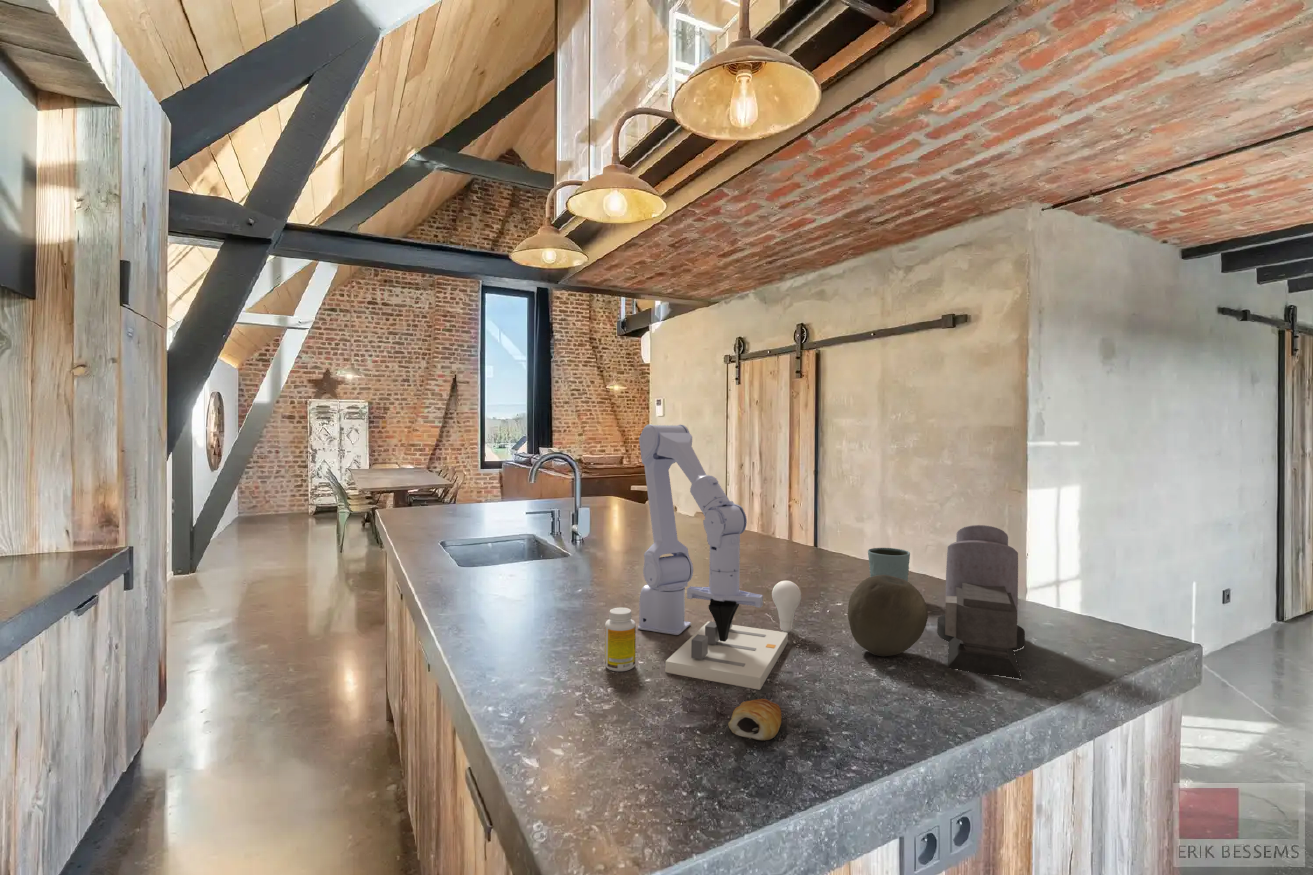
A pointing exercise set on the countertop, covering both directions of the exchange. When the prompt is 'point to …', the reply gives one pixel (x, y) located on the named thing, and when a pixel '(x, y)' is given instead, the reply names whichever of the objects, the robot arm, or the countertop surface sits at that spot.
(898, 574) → the drinking glass
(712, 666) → the breaker panel
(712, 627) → the block
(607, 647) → the supplement bottle
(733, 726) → the pastry
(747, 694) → the countertop surface
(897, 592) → the cantaloupe
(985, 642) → the juicer
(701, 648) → the block
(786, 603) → the lightbulb
